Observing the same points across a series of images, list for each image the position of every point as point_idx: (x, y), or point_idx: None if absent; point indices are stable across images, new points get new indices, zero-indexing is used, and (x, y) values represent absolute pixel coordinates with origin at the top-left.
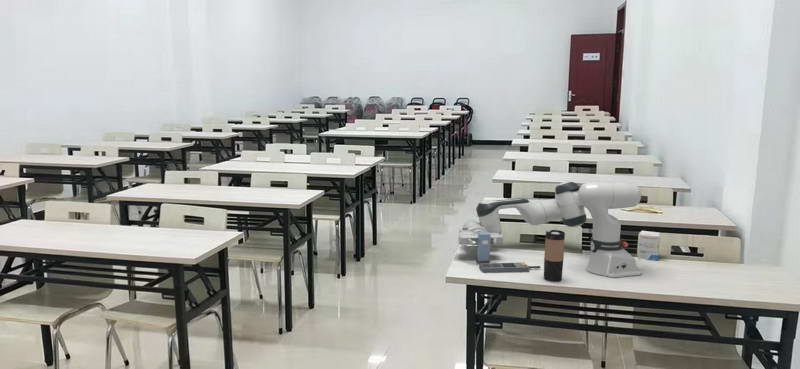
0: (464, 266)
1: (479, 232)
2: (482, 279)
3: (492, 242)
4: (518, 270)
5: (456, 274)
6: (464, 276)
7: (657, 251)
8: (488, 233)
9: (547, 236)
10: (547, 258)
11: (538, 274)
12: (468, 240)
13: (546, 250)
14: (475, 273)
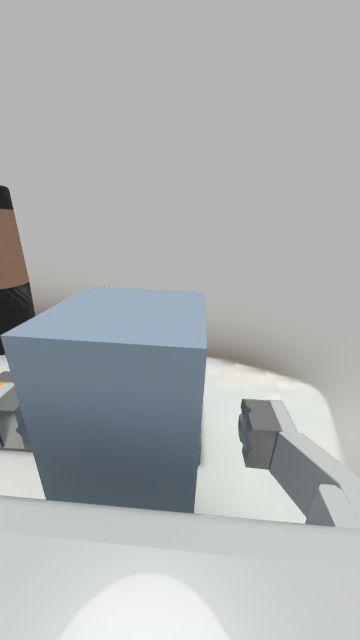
0: (295, 505)
1: (187, 329)
2: (214, 359)
3: (15, 430)
4: None
5: (311, 400)
6: (275, 382)
7: None
8: (80, 300)
9: (9, 201)
10: (27, 275)
11: (5, 368)
12: (356, 486)
13: (20, 252)
14: (231, 399)
